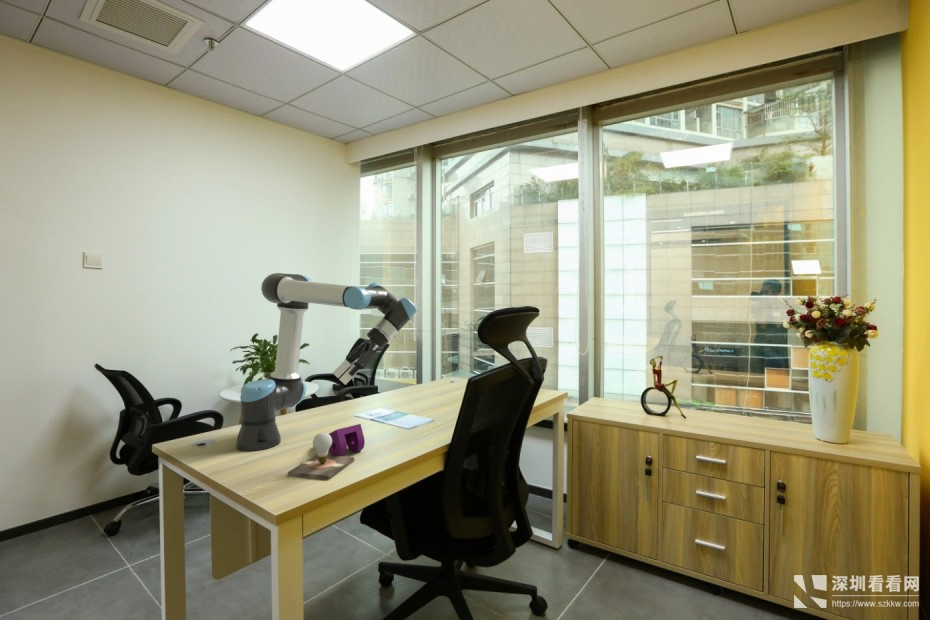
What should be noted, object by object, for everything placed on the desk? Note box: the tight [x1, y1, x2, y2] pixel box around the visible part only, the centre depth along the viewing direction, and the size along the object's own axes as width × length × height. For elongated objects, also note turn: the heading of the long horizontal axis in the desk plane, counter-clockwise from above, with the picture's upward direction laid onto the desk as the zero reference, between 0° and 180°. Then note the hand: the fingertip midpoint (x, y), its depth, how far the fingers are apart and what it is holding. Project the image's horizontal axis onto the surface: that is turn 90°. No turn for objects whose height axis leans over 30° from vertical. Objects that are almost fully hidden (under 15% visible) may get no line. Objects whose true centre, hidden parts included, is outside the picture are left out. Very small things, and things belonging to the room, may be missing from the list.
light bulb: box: [312, 431, 332, 464], centre depth 141 cm, size 6×6×10 cm
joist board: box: [287, 453, 355, 481], centre depth 141 cm, size 14×16×1 cm
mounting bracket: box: [328, 423, 366, 456], centre depth 158 cm, size 10×9×19 cm
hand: (338, 378), depth 150 cm, fingers open, 13 cm apart
